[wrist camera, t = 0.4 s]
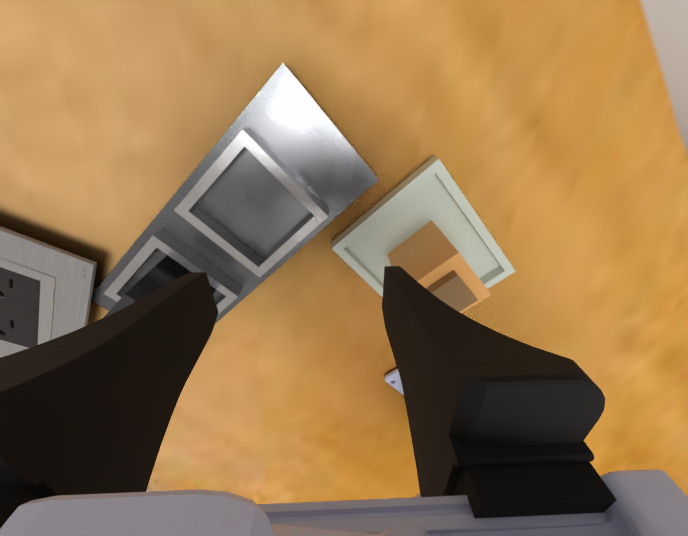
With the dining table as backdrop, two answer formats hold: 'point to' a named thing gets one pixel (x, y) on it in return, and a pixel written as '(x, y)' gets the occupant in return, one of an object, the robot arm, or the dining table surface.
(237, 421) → the dining table surface
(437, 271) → the plug
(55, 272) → the electrical outlet
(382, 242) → the tray
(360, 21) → the dining table surface
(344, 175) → the pdu strip
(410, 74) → the dining table surface
